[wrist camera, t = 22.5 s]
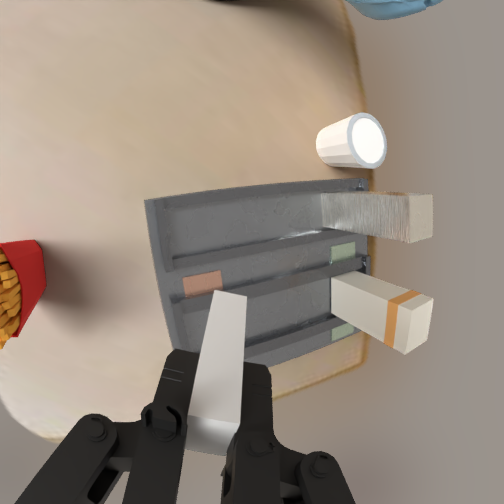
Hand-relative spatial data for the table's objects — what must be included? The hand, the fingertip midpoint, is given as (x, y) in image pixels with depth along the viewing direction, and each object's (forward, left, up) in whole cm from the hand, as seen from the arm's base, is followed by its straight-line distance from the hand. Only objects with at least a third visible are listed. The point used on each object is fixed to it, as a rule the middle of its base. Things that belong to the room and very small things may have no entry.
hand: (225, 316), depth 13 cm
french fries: (-1, -17, -19) cm, 25 cm away
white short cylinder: (-10, +22, -19) cm, 31 cm away
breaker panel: (+5, +11, -19) cm, 22 cm away
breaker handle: (+9, +20, -16) cm, 27 cm away
